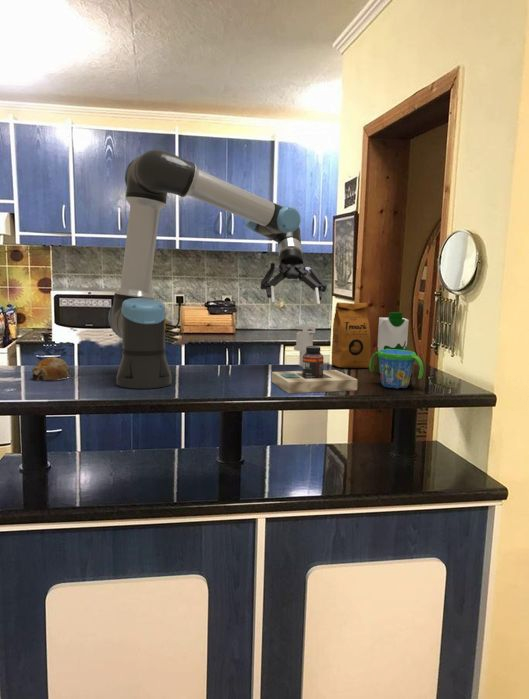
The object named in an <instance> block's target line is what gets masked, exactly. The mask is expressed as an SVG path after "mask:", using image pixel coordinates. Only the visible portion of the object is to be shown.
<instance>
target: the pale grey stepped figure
mask: <svg viewBox="0 0 529 699" xmlns="http://www.w3.org/2000/svg"><path fill="white" fill-rule="evenodd" d="M316 324H317V323H316V322H315V321H307V323H303V324H302V323H301V324H298V323H297V324H294V329H296V330H298V332H296V340H295V341H296V342H295V343H296V344H295V345H294V346H293V350H294V351H299V363H298V364H299V367H302V363H303V355H304V354H305V353H306V347H307V346H314V345H313V344H314V334H315V333H316V327H317V326H316ZM301 330H302V331H301ZM310 333H311V335H310ZM312 333H313V334H312Z"/></svg>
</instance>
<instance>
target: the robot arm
mask: <svg viewBox="0 0 529 699" xmlns="http://www.w3.org/2000/svg"><path fill="white" fill-rule="evenodd" d="M125 169H126V170H125V171H124V172H125V174H124V183H125V186H126V192H125V201H126V202H127V203H128V204H129V211H128V212H129V213H128V222H127V231H126V236H125V237H126V238H125V247H124V254H123V256H124V257H123V263H122V273H121V282H120V287H119V288H118V289H117V290H116V291H114V295H113V304H112V306H111V307H110V309H109V312H108V324H109V326H110V328H111V330H112V332H113V333H114V334H115V335H116V336H117V337H119V338H121V339H122V345H121V346H122V357H121V360H120V364H119V366H118V370H117V374H116V377H115V378H116V381H115V382H116V384H115V385H117V386H119V387H121V388H126V389H127V388H128V389H138V390H139V389H141V390H142V389H146V390H147V389H157V388H158V389H159V388H162V387H163V388H164V387H167V386H170V385H171V384H172V380H173V379H172V372H171V370H170V366H169V364H168V360H167V357H166V316H167V313H166V307H165V304H164V302H162V301H160V300H158V299H155V297H154V295H153V294H152V292H151V285H152V279H153V271H154V270H153V269H154V264H155V263H154V260H155V253H156V246H157V245H156V243H157V236H158V228H159V219H160V212H161V210H162V209H164V208H165V207H166V205H167V199H168V198H167V196H168V194H173V195H176V196H179V197H180V198H186V197H187V196H189V197H192V198H194V199H196V200H199V201H201V202H202V203H206V204H209V205H211V206H214V207H215V208H219V209H221V210H223V211H226V212H228V213H230V214H233V215H235V216H238V217H240V218H243V219H244V225H245V227H246V228H248V229H249V230H251V231H252V232H255V233H256V234H259V235H261V236H263V237H266V238H267V239H269V240H272V241H273V242H276V243H277V245H278V247H277V248H278V259H279V265H276V264H275V263H274V262H272V263H270V266H269V267H270V268H269V269H268V271H267V273H266V274H265V275H264V277H263V278H262V280H261V282H260V289H261V290H265V291H266V297H267V298H268V299H269V298H270V308H271V309H274V307H275V289H274V288H275V287H276V286H277V285H278V284H280V282H282V281H284V280H285V279H287V280H291V279H293V280H299V281H301V282H302V283H304V284H305V285H307V286H308V287H309V288H310V289H311V290H313V291H314V292H313V296H314V306H315V310H316V311H317V310H319V309H320V306H321V302H320V301H321V300H322V298H323V293H325V292H326V291H327V287H328V286H327V283H326V282H325V281H324V280H323V278H322V277H321V275H319V273H318V272H317V271H316V269H315V266H314V264H310V266H305V265H304V256H303V247H302V240H301V238H302V236H301V228H300V224H301V214H300V212H299V211H298V209H296V208H295V207H293V206H288V205H286V206H282V205H280V204H278V203H275V202H273V201H270V200H268V199H267V198H264V197H262V196H259V195H257V194H254V193H252V192H250V191H248V190H245V189H243V188H241V187H239V186H236V185H234V184H233V183H230V182H228V181H225V180H222V179H220V178H219V177H216V176H214V175H211V174H209V173H207V172H205V171H203V170H200V169H198V167H197V165H196V163H193V162H191V161H189V160H187V159H185V158H182V157H180V156H178V155H176V154H174V153H171V152H169V151H166V150H163V149H150V150H147V151H145V152H144V153H142V154H140V155H139V156H136V157H135V158H133V159H132V160H131V161H130V163H129V164H128V165H127V166H126V168H125ZM277 271H278V272H279V273H278V274H276V275H275V276H274V277H273V275H274V273H277ZM272 277H273V278H272ZM322 292H323V293H322Z"/></svg>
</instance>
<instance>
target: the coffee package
mask: <svg viewBox="0 0 529 699" xmlns="http://www.w3.org/2000/svg"><path fill="white" fill-rule="evenodd" d="M367 307H368V302H354V303H353V302H352V303H351V302H336V304H335V310H334V312H335V313H334V318H333V322H332V323H333V325H332V342H331V365H332V366H335V367H338V368H342V369H363V368H364V369H365V368H366V369H369V364H370V360H371V346H372V344H371V343H372V341H371V339H372V337H371V329H370V321H369V318H368V311H367Z"/></svg>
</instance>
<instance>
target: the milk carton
mask: <svg viewBox="0 0 529 699" xmlns="http://www.w3.org/2000/svg"><path fill="white" fill-rule="evenodd" d="M409 321H410V320H409V319H408V318H404V317H403V312H401V311H399V312H398V311H389V313H388V317H379V318H378V329H377V330H378V332H377V350H376V352H378V351H379V350H382V349H398V350H407V351H408V338H409V337H408V335H409ZM376 367H377V370H376V373H377V374H379V375H380V362H379V357H378V354H377V355H376Z"/></svg>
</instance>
